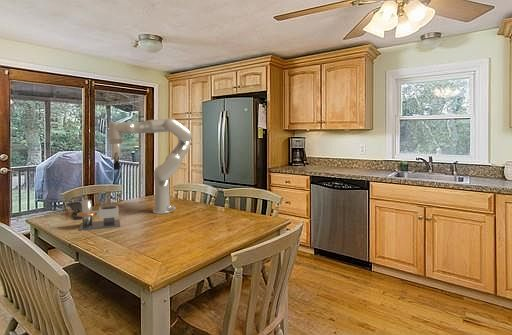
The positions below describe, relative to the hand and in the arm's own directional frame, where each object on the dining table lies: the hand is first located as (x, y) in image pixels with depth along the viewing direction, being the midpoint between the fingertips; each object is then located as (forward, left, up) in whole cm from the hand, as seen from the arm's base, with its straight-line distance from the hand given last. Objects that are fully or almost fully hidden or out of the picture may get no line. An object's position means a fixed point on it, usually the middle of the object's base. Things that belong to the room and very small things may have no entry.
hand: (116, 168), depth 198 cm
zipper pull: (+25, +2, -31) cm, 40 cm away
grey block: (-5, +22, -29) cm, 37 cm away
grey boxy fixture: (-1, +24, -30) cm, 39 cm away
